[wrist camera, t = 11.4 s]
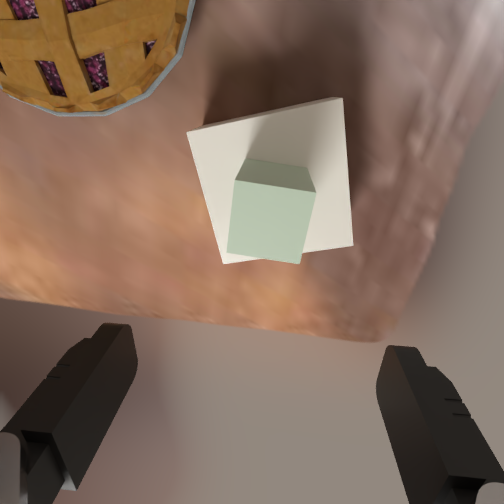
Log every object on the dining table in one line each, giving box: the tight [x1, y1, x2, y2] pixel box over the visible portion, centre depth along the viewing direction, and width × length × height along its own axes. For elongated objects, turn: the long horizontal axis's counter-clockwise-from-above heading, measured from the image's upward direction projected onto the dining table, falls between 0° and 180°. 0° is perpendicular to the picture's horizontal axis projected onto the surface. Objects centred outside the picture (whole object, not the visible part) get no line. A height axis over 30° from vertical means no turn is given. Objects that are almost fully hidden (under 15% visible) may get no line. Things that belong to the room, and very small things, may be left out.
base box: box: [187, 97, 353, 264], centre depth 29 cm, size 12×12×6 cm
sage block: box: [226, 158, 317, 264], centre depth 23 cm, size 5×5×7 cm
